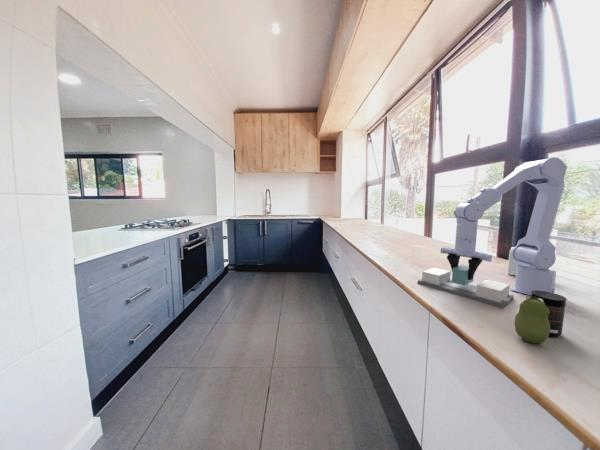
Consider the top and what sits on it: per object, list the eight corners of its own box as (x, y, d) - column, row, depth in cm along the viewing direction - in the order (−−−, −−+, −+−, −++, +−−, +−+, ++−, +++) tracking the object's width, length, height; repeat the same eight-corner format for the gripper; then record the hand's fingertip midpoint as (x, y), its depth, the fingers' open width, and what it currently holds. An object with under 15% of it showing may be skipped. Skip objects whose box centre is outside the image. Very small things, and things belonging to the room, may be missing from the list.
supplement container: (548, 326, 59) (552, 291, 58) (569, 339, 53) (574, 301, 52) (520, 323, 60) (524, 289, 59) (538, 336, 54) (543, 299, 53)
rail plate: (513, 298, 75) (514, 284, 74) (502, 307, 69) (504, 293, 68) (431, 277, 95) (432, 266, 95) (417, 282, 89) (418, 271, 88)
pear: (547, 340, 53) (552, 297, 52) (549, 352, 49) (555, 305, 48) (513, 331, 57) (517, 290, 55) (512, 340, 53) (517, 297, 52)
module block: (473, 281, 82) (474, 267, 82) (465, 285, 78) (466, 270, 77) (460, 278, 85) (461, 264, 85) (451, 282, 81) (452, 267, 81)
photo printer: (506, 274, 99) (509, 245, 97) (508, 272, 101) (511, 244, 100) (540, 281, 91) (544, 249, 89) (542, 278, 94) (545, 248, 92)
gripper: (437, 236, 83) (435, 273, 85) (488, 243, 72) (483, 286, 73) (446, 234, 87) (443, 270, 89) (495, 240, 76) (491, 281, 77)
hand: (462, 277), depth 81 cm, fingers closed on module block, 4 cm apart
